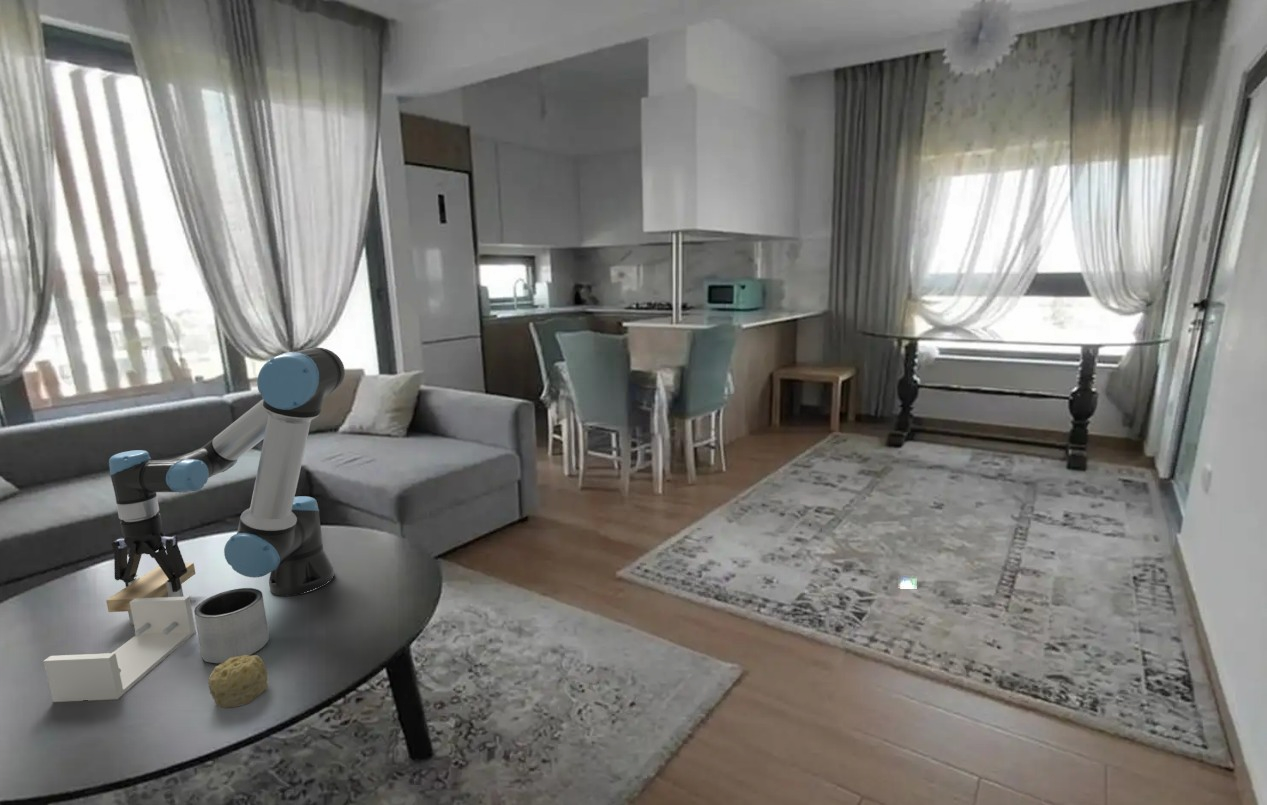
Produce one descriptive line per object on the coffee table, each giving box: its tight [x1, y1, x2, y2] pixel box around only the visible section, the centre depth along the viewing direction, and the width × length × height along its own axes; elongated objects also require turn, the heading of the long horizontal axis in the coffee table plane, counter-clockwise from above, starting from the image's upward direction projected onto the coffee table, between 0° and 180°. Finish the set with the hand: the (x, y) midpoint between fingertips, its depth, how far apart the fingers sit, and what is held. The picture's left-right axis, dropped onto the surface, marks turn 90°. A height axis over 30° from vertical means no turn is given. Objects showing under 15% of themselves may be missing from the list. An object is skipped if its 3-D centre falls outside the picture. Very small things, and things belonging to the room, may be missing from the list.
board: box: [105, 562, 196, 613], centre depth 151 cm, size 8×18×3 cm, turn 2°
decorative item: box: [208, 654, 269, 709], centre depth 119 cm, size 10×10×10 cm
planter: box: [194, 587, 270, 665], centre depth 134 cm, size 13×12×11 cm
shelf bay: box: [43, 595, 197, 703], centre depth 130 cm, size 12×23×9 cm, turn 2°
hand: (157, 604), depth 152 cm, fingers closed on board, 8 cm apart
